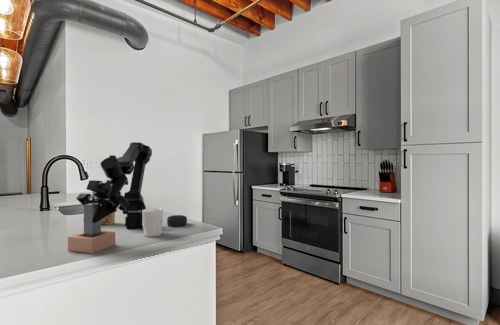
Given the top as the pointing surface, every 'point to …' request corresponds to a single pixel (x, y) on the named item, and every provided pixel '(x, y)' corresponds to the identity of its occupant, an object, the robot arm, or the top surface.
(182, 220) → the smart speaker
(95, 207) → the gray rectangular block
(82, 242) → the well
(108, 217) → the candy box
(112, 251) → the top surface
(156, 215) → the white cup
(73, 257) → the top surface
